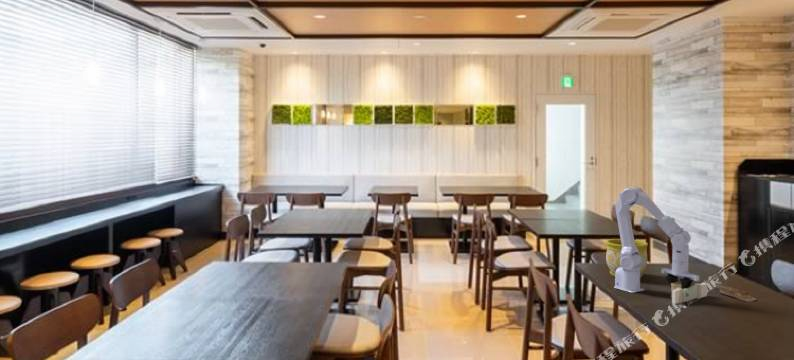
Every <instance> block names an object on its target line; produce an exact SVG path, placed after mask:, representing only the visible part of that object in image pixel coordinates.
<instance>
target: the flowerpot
mask: <svg viewBox="0 0 794 360" xmlns="http://www.w3.org/2000/svg"><path fill="white" fill-rule="evenodd" d="M634 241H635V246H636V248H637V249H638V252H639V254H640V256H641V257H642V263H641V265H639V267H640V279H641V278H642V277H643V275H644V274H643V273H644V272H645V270H646V268H647V266H648V253H647V252H648V249H647V247H648V245H649V244H648V242H646V241H644V240H639V239H634ZM605 243H606V254H605V255H606V256H605V262H606V265H607V267H608V269H609V273H610V275H611V276H612V277H613V276H614V278H615V273H616V270H617V269H618V268H619V267H621V265H620V259H621V250H622V244H621V238H611V239H606V241H605Z"/></svg>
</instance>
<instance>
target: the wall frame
mask: <svg viewBox="0 0 794 360" xmlns="http://www.w3.org/2000/svg"><path fill="white" fill-rule="evenodd" d="M694 285H696V286H698V291H697V298H696V299H701V298H704V297H708V283H706V282H703V283H694ZM694 285H693V286H694ZM682 293H683V289H682V288H676V289H675V290H672V298H671V304H673V305H676V304H683V302H682Z"/></svg>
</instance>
